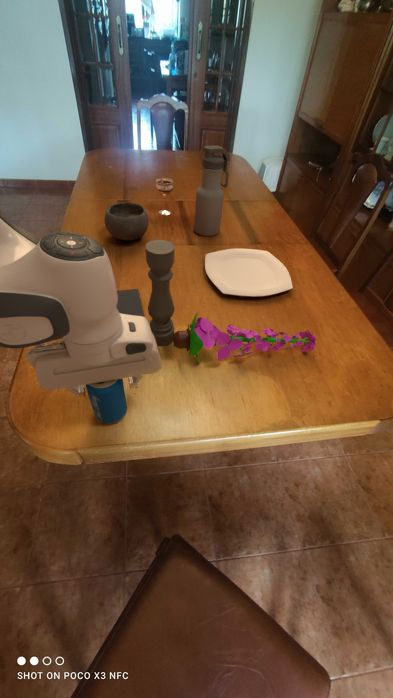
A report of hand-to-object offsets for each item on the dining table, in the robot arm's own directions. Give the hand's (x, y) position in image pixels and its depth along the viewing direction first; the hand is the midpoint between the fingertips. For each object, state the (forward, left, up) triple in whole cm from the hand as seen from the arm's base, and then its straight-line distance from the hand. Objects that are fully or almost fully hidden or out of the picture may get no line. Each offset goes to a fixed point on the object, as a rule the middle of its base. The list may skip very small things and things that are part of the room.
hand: (108, 390), depth 59 cm
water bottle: (+42, +73, -8) cm, 84 cm away
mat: (0, +32, -7) cm, 33 cm away
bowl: (+12, +72, -8) cm, 73 cm away
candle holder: (+14, +19, -8) cm, 25 cm away
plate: (+46, +42, -8) cm, 63 cm away
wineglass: (+29, +91, -8) cm, 96 cm away
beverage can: (0, 0, -8) cm, 8 cm away
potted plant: (+33, +11, -8) cm, 35 cm away
